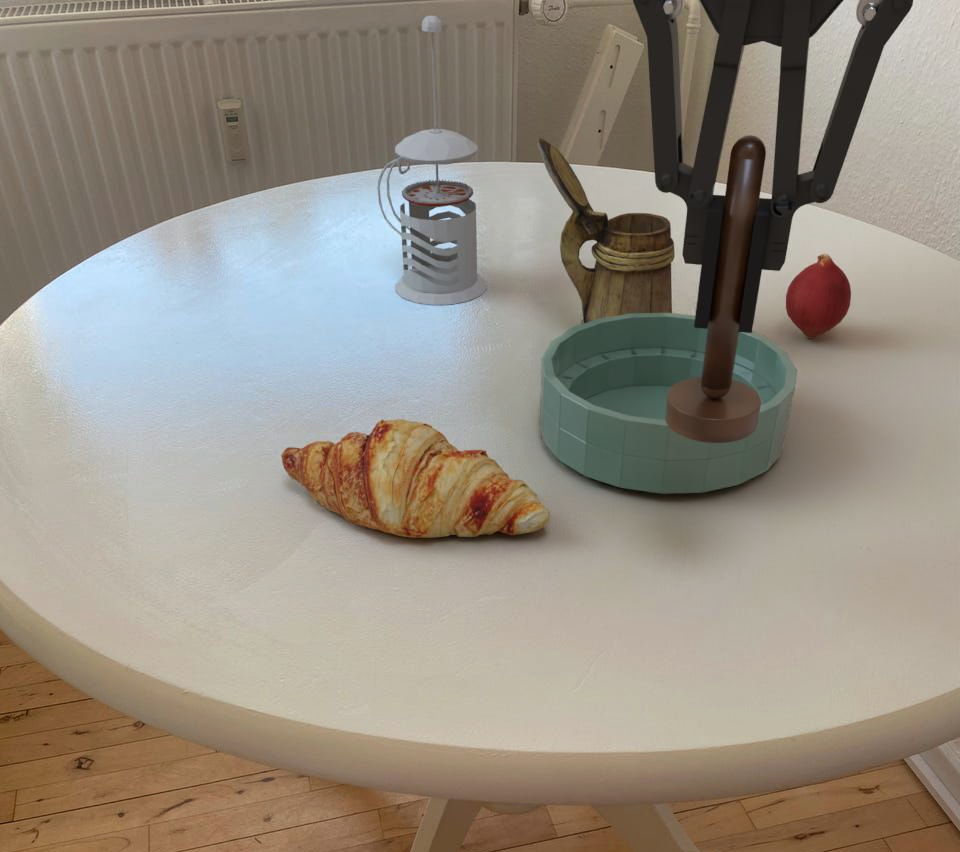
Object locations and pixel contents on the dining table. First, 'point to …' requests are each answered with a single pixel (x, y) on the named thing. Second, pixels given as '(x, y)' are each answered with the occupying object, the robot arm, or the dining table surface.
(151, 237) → the dining table surface
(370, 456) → the croissant
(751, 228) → the wooden paper towel stand
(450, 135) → the french press
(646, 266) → the wooden mug
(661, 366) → the bowl
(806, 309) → the onion
